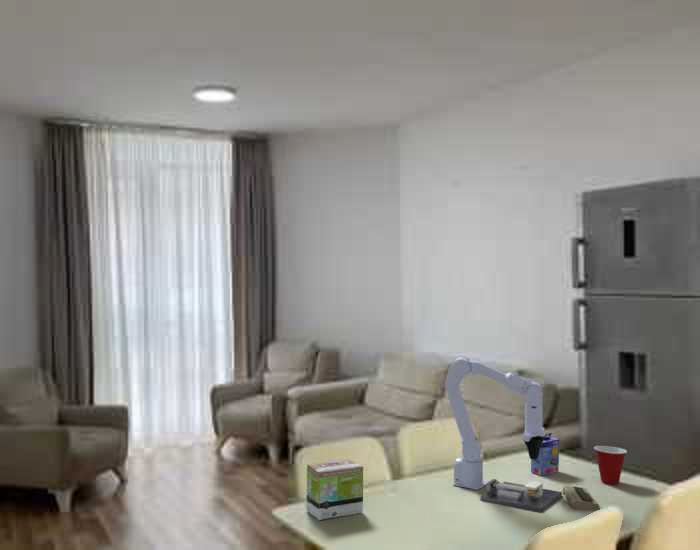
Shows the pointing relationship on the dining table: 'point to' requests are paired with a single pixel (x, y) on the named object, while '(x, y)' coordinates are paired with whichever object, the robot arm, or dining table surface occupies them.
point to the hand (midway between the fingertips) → (533, 458)
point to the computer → (580, 498)
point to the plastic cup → (610, 463)
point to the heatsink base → (519, 497)
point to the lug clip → (534, 486)
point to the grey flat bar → (513, 487)
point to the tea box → (334, 489)
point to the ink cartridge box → (547, 457)
